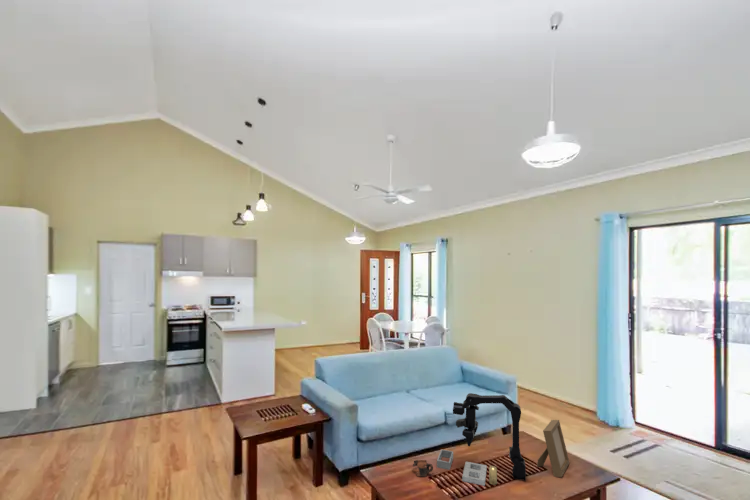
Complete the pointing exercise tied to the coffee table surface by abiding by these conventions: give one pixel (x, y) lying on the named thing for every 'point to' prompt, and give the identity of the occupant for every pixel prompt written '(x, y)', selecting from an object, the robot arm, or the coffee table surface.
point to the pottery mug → (423, 467)
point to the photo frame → (554, 449)
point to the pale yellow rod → (493, 475)
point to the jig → (474, 473)
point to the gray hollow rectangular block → (443, 463)
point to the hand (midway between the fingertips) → (470, 443)
